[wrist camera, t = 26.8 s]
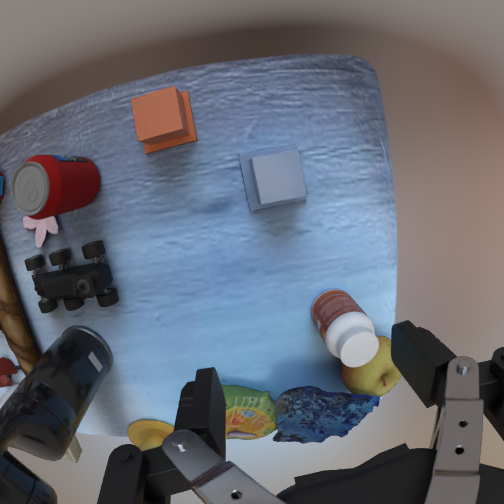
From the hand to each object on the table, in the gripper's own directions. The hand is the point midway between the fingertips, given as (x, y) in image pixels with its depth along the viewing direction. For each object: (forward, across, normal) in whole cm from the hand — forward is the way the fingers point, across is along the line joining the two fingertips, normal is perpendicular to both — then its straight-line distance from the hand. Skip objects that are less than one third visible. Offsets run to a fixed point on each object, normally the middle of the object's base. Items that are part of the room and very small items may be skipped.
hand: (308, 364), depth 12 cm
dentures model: (+24, +51, +12) cm, 58 cm away
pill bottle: (+26, -8, +12) cm, 30 cm away
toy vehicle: (+26, +27, 0) cm, 37 cm away
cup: (+26, +25, +33) cm, 49 cm away
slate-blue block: (+26, -3, -7) cm, 27 cm away
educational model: (+21, +3, +31) cm, 38 cm away
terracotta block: (+26, +8, -16) cm, 31 cm away
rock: (+15, -3, +26) cm, 30 cm away
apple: (+26, -12, +21) cm, 35 cm away
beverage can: (+26, +21, -12) cm, 36 cm away
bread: (+26, +42, +6) cm, 49 cm away
